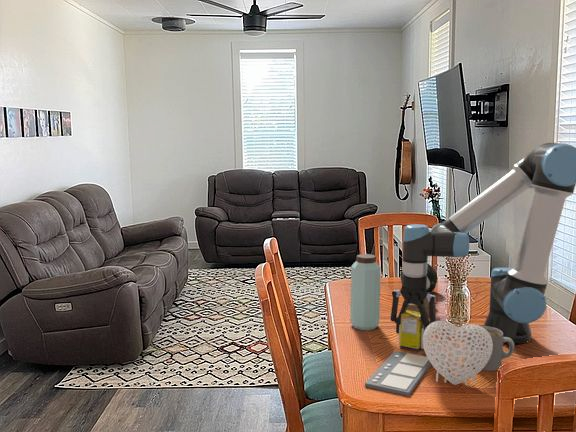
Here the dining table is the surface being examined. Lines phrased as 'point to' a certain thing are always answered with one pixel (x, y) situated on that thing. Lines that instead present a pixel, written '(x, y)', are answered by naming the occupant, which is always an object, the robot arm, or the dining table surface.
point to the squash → (430, 278)
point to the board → (399, 373)
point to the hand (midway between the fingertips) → (412, 345)
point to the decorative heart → (457, 350)
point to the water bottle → (365, 292)
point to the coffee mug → (495, 348)
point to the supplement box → (411, 330)
